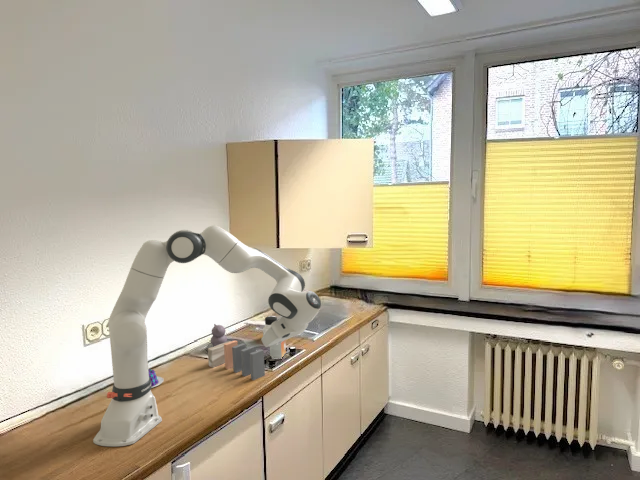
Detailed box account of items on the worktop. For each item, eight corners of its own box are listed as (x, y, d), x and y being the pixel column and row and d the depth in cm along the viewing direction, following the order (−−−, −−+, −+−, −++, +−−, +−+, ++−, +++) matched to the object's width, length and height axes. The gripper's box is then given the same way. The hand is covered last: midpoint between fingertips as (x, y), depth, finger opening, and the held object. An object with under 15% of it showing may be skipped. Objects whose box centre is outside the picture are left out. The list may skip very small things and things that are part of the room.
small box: (281, 360, 202) (280, 338, 201) (269, 359, 203) (268, 337, 202) (286, 353, 210) (285, 332, 209) (275, 353, 211) (274, 331, 210)
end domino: (238, 364, 199) (237, 341, 197) (227, 369, 194) (226, 345, 193) (236, 363, 200) (234, 340, 198) (225, 368, 195) (223, 344, 194)
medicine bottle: (276, 342, 225) (275, 319, 224) (263, 341, 226) (262, 319, 225) (280, 337, 232) (279, 315, 231) (267, 337, 233) (266, 314, 232)
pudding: (144, 376, 190) (143, 365, 189) (169, 378, 187) (168, 366, 187) (125, 389, 178) (124, 377, 178) (152, 392, 176) (151, 379, 175)
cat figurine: (229, 350, 216) (228, 326, 214) (213, 353, 213) (211, 329, 211) (225, 344, 224) (224, 321, 222) (209, 347, 220) (208, 324, 219)
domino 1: (247, 368, 195) (245, 344, 193) (236, 372, 190) (234, 348, 189) (244, 367, 196) (243, 343, 195) (233, 371, 192) (232, 347, 190)
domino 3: (264, 375, 187) (263, 350, 186) (253, 380, 183) (252, 354, 181) (262, 374, 188) (260, 349, 187) (250, 379, 184) (249, 353, 182)
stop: (234, 359, 205) (233, 342, 204) (212, 367, 197) (211, 350, 195) (230, 357, 207) (229, 340, 206) (208, 365, 198) (207, 348, 197)
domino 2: (255, 371, 191) (254, 347, 190) (244, 376, 187) (243, 351, 185) (253, 370, 192) (251, 346, 191) (242, 375, 188) (240, 350, 186)
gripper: (307, 310, 176) (291, 329, 184) (268, 323, 161) (252, 343, 169) (316, 323, 174) (299, 342, 182) (277, 338, 159) (260, 358, 166)
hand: (276, 343), depth 175 cm, fingers closed
